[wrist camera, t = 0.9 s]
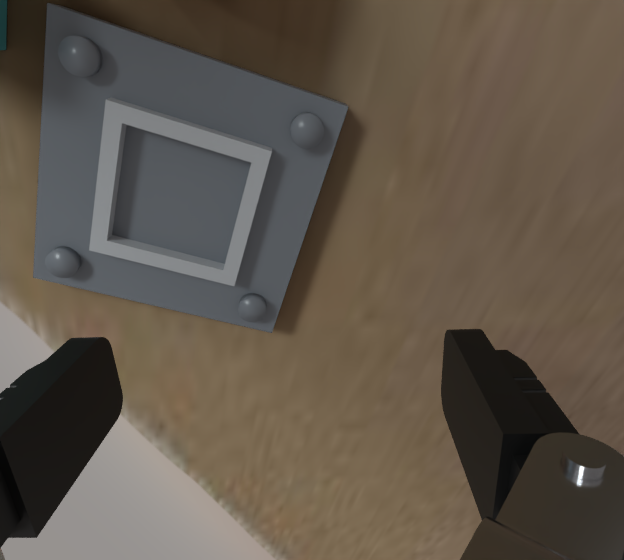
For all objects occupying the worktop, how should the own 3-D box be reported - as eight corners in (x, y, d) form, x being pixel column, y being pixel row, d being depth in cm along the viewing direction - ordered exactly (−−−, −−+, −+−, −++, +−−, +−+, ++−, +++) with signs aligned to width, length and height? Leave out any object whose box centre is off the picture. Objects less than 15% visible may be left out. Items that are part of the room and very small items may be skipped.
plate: (43, 267, 32) (25, 284, 30) (59, 4, 25) (38, 1, 23) (272, 321, 36) (271, 340, 34) (345, 103, 28) (350, 108, 26)
